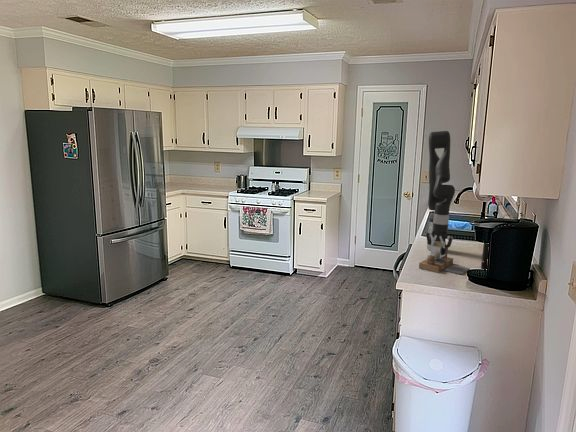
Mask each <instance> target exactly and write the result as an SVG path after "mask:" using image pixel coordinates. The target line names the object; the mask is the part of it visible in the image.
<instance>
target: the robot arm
mask: <svg viewBox="0 0 576 432" xmlns="http://www.w3.org/2000/svg"><path fill="white" fill-rule="evenodd" d="M428 135H429V136H428V152H429V162H428V163H429V165H428V166H429V167H428V180H429V181H428V185H429V187H428V199H427V202H428V204H427V205H428V209H429V210H430V211H434V215H431V216H430V217H429V219H428V220H429V221H428V230H427V231H428V232H427V233H426V235H425V236H426V250H428V251H431V246H432V245H434V244H436V242H441V244H442V246H443V248H442V255H444V254H445V253H446V248H448V249H449V248H450V247H451V245H452V242H453V241H454V236H450V235H448V232H449V224H450V223H449V222H450V207H451V204H452V201H453V198H454V197H455V196H454V195H455V193H456V188H455V186H454V185H452V184H445V183H448V182H449V181H450V180H451V171H450V159H451V158H450V156H451V134H450V132H449V131H448V130H443V131H442V130H440V131H431V132H429V134H428ZM436 149H437V150H438V149H443V153H442V154H441V156H440V157H439V156H438V154H437V151H436ZM446 240H447V241H446Z"/></svg>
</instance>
